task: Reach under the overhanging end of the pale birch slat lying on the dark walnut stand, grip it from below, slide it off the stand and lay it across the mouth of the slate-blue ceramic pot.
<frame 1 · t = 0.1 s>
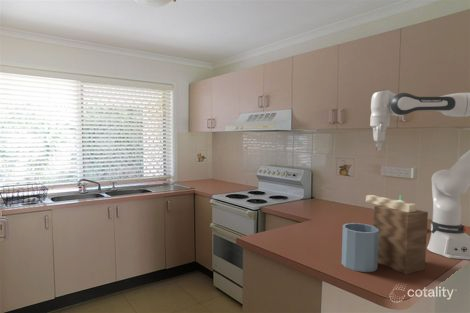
hand: (378, 150, 156), 48 cm above the worktop, tool pointing down, fingers open, 8 cm apart
stand: (397, 264, 132), on the worktop
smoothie: (398, 228, 186), on the worktop
slat: (388, 206, 135), point 24 cm above the worktop, touching stand
pot: (358, 264, 131), on the worktop
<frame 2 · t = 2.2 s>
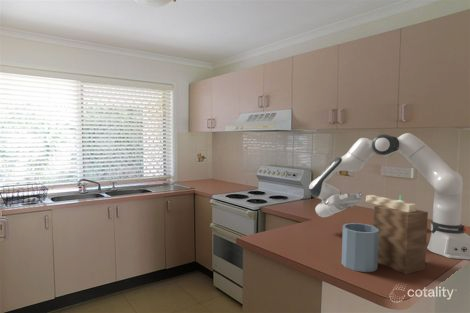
hand: (355, 194, 153), 26 cm above the worktop, tool pointing upward, fingers open, 8 cm apart
nothing on the worktop moved.
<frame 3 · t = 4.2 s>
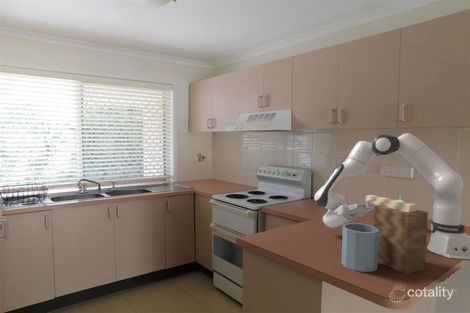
hand: (365, 204, 148), 22 cm above the worktop, tool pointing upward, fingers open, 8 cm apart
nothing on the worktop moved.
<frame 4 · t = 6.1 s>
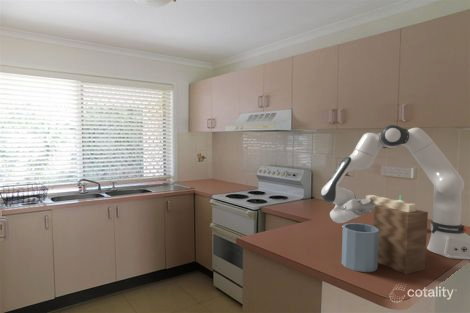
hand: (375, 198, 142), 26 cm above the worktop, tool pointing upward, fingers closed on slat, 4 cm apart
slat: (388, 206, 135), point 24 cm above the worktop, touching gripper, stand
everything else where it was.
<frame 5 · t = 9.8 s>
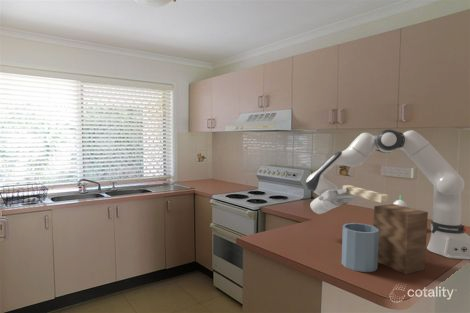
hand: (351, 188, 144), 30 cm above the worktop, tool pointing upward, fingers closed on slat, 4 cm apart
slat: (363, 196, 137), point 28 cm above the worktop, touching gripper
everything else where it was.
when the fingers open (19 cm above the worktop, at t = 13.4 s): slat stays where it is, resting on pot.
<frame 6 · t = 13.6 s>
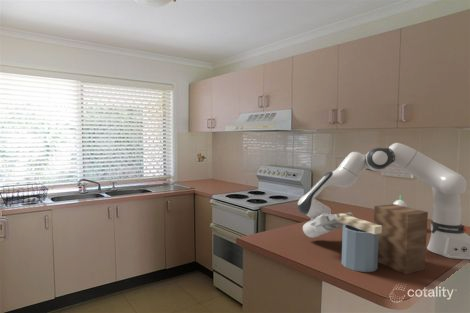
hand: (344, 214, 138), 19 cm above the worktop, tool pointing upward, fingers open, 6 cm apart
slat: (356, 226, 132), point 16 cm above the worktop, touching pot
everything else where it was.
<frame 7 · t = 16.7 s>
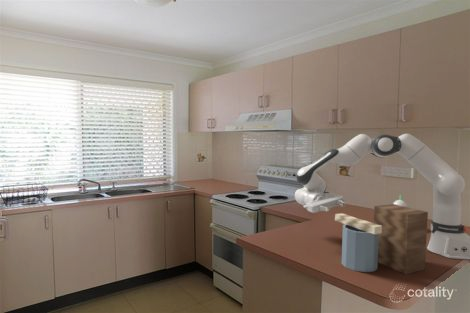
hand: (336, 207, 146), 21 cm above the worktop, tool horizontal, fingers open, 8 cm apart
nothing on the worktop moved.
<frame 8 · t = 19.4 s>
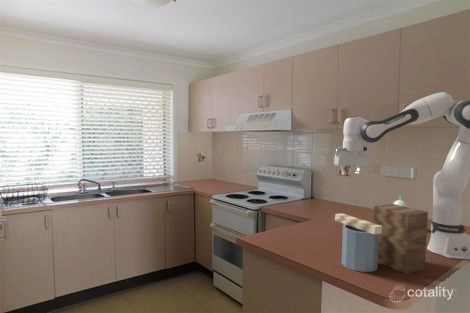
hand: (350, 174, 159), 35 cm above the worktop, tool pointing down, fingers open, 8 cm apart
nothing on the worktop moved.
at the end: slat inside the target area on the pot (0.1 cm from its centre), point 16.0 cm above the pot's base; slat tilted 0°; the gripper is holding nothing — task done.
